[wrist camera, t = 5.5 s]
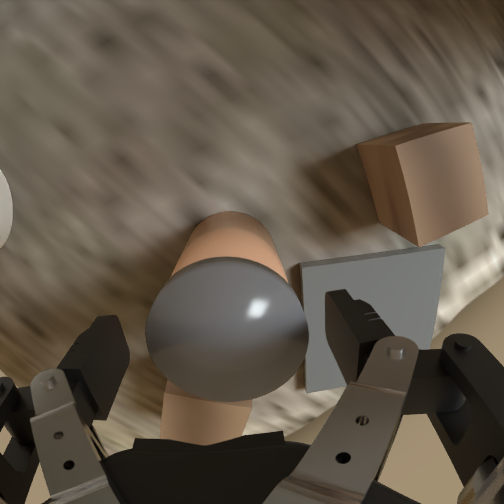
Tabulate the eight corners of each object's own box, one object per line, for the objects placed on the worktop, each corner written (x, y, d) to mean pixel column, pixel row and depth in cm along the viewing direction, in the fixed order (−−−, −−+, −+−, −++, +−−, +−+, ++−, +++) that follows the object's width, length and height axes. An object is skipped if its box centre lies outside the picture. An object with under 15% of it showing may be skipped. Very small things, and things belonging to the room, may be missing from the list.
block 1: (248, 356, 21) (252, 408, 17) (233, 404, 23) (234, 454, 18) (176, 342, 21) (164, 392, 16) (169, 392, 22) (159, 441, 18)
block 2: (422, 123, 17) (471, 122, 12) (440, 197, 18) (488, 214, 14) (356, 144, 17) (395, 145, 12) (378, 222, 19) (418, 247, 14)
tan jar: (272, 203, 18) (305, 257, 9) (281, 291, 20) (309, 392, 11) (176, 215, 18) (126, 278, 9) (192, 301, 20) (168, 405, 11)
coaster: (438, 244, 19) (445, 247, 18) (421, 360, 22) (425, 365, 22) (299, 263, 19) (301, 267, 18) (304, 386, 22) (306, 393, 22)
